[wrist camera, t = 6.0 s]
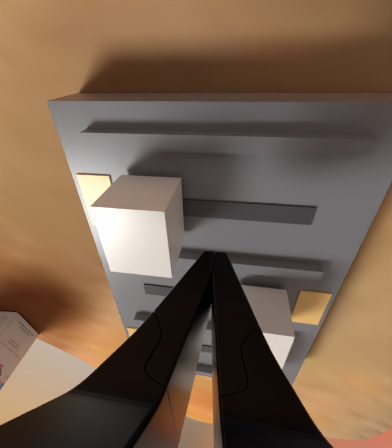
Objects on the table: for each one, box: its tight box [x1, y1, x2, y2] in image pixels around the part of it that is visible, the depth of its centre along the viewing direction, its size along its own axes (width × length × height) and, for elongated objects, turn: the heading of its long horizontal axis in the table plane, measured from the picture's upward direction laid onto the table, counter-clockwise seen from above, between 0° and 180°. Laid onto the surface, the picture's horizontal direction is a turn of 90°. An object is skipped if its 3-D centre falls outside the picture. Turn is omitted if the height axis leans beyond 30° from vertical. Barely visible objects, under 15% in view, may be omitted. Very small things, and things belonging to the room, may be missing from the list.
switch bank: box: [47, 93, 392, 386], centre depth 17 cm, size 15×24×3 cm, turn 1°
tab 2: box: [241, 285, 295, 369], centre depth 15 cm, size 3×4×3 cm
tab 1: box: [90, 175, 185, 278], centre depth 11 cm, size 3×4×3 cm
